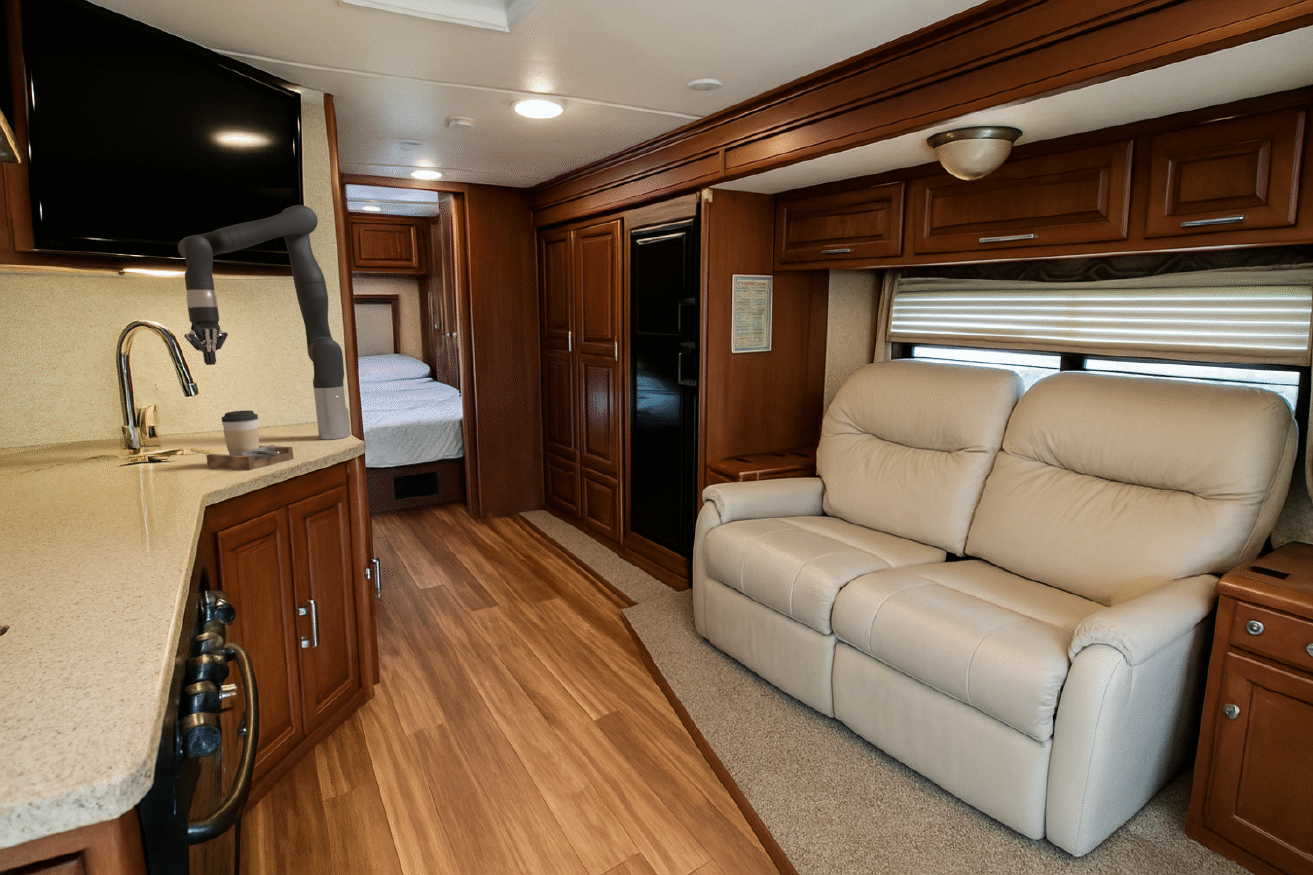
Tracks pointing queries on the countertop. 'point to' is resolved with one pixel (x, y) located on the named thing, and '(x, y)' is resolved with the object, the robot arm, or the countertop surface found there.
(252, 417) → the coffee cup
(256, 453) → the pusher
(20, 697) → the countertop surface
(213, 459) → the wooden tray
